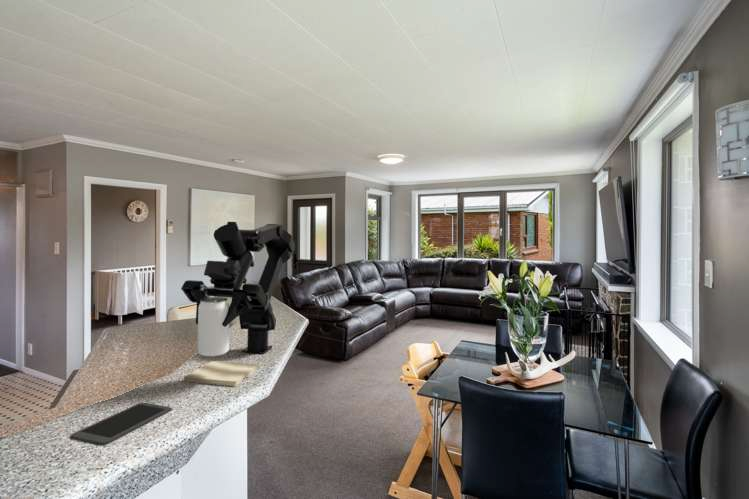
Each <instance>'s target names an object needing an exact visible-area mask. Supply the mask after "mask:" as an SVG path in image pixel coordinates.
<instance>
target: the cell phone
mask: <svg viewBox="0 0 749 499" xmlns="http://www.w3.org/2000/svg"><path fill="white" fill-rule="evenodd" d="M171 411H173V408H172V407H171V406H165V405H159V404H155V403H148V402H138V403H136V404H133V405H132V406H129V407H128V408H125V409H123V410H122V411H119V412H117V413H115V414H112V415H110V416H108V417H106V418H103V419H101V420H99V421H97V422H95V423H92V424H91V425H89V426H86V427H84V428H82V429H79V430H78V431H75V432H73V433H71V434H70V439H72V440H75V441H80V442H81V441H82V442H85V443H89V444H94V445H98V446H106V445H109V444H111V443H113V442H115V441H117V440H119V439H121V438H123V437H124V436H126V435H128V434H131V433H133V432H134V431H136V430H138V429H140V428H142V427H143V426H145V425H147V424H149V423H151V422H153V421H155V420H157V419H158V418H161V417H163V416H164V415H166V414H168V413H170V412H171Z"/></svg>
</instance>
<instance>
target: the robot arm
mask: <svg viewBox="0 0 749 499" xmlns="http://www.w3.org/2000/svg"><path fill="white" fill-rule="evenodd" d="M283 226H284V225H281V224H277V223H267V224H264V225H263V226H260V227H258V228H255V229H239V226H238V224H237V221H227V222H226V224H224V225H221V226H219V227H218V228H217V229H215V230H214V232H213V238H214V240H215V243H216V244H217V246H218V248H219V250H220V252H221V254H222V255H223V256H224V257H227V259H226V260H225V261H222V260H207V261H206V264H205V268H204V272H203V275H204V276H207V277H209V278H210V280H209V282H210V284H212V285H213V286H207V285H205V283H204V282H203V281H202V280H193V279H188V280H185V281H184V282H183V283H182V286H181V288H180V289H181V291H182V292H183V294H184V295H185V296H186V297H187V300H189V301H190V302H192V303H196V309H195V310H196V311H195V314H196V315H195V323H196V325H197V326H198V307H199V305H200V303H201V299H203V298H209V297H223V298H227V299H228V298H229V299H231V302H230V304H229V309H228V312H227V315H226V317H225V319H224V321H223V323H222V325H223V326H224V327H226V326H227V325H228V324H229V325H230V324H231V323H233V321H234V320H235V319H236V318H238V317H239V319H238V320H239V327H240V330H247V338H246V340H247V341H246V342H247V343H246V344H247V345H246V347H244V348H243V349H242V350H241V352H243V353H253V354H265V353H267V352H268V351H270V350H271V349H272V348H273V345H269V332H270V331H274V330H276V325H277V319H276V316H275V314H274V312H273V309H274V308H273V306H272V303H271V299H272V296H273V293H274V292H275V287H276V284H277V283H278V282H277V281H278V279H279V276H280V274H281V270H282V268H283V265H284V263H286V262H287V261H289V260H290V259H291V258H292V255H293V254H294V252H295V250H296V244H295V241H294V238H293V235H292V234H290V232H288V231H286V230H285V228H284V227H283ZM264 248H266V249H265V250H266V252H267V255H268V258H267V259H266V260H267V261H266V264H265V265H264V268H263V270H262V273H261V276H260V278H259V281H258V283H247V281H248V280H247V278H246V276H247V274H248V271H249V269H250V267H251V268H254V266H255V262H254V256H253V254H252V253H260V252H261V251H262V250H263V249H264Z"/></svg>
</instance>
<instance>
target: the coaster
mask: <svg viewBox="0 0 749 499" xmlns="http://www.w3.org/2000/svg"><path fill="white" fill-rule="evenodd" d="M259 369H260V364H257V363H256V364H255V363H254V364H253V363H245V362H244V363H243V362H232V361H221V360H212V361H209V363H207V364H205V365H203V366H202V367H199V368H197V369H196V370H194V371H192V372H190V373H189V374H187V375H185V376H184V377H183V382H187V383H194V384H195V383H196V384H197V383H198V384H206V385H207V384H208V385H219V386H228V387H229V386H230V387H237V386H238V385H239V384H240V383H242V382H243V381H245V380H246V379H248V378H249V377H250V376H251V375H253V374H254V373H255V372H257V371H258V370H259ZM248 376H249V377H248ZM244 379H245V380H244Z"/></svg>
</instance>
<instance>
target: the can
mask: <svg viewBox="0 0 749 499" xmlns="http://www.w3.org/2000/svg"><path fill="white" fill-rule="evenodd" d="M228 300H229V299H228V298H227V297H217V296H210V297H209V298H203V299H201V303H200V305H199V307H198V325H197V353H198V354H199V355H200V357H201V356H202V357H207V358H208V357H209V358H210V357H213V358H214V357H219V356H223V355H225V354H227V353H228V352H229V351H230V323H229V324H228V325H227V326H226V327H224V326H223V325H222V323H223V321H224V319H225V317H226V315H227V312H228V309H229V306H230V304H229V301H228Z"/></svg>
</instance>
